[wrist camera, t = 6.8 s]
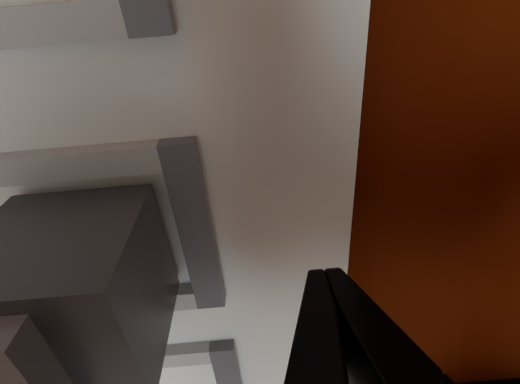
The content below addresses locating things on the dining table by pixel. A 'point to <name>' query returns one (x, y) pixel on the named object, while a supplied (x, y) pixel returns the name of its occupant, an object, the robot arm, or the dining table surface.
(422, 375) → the robot arm
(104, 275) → the toggle middle
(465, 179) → the dining table surface
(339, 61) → the breaker board
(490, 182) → the dining table surface
